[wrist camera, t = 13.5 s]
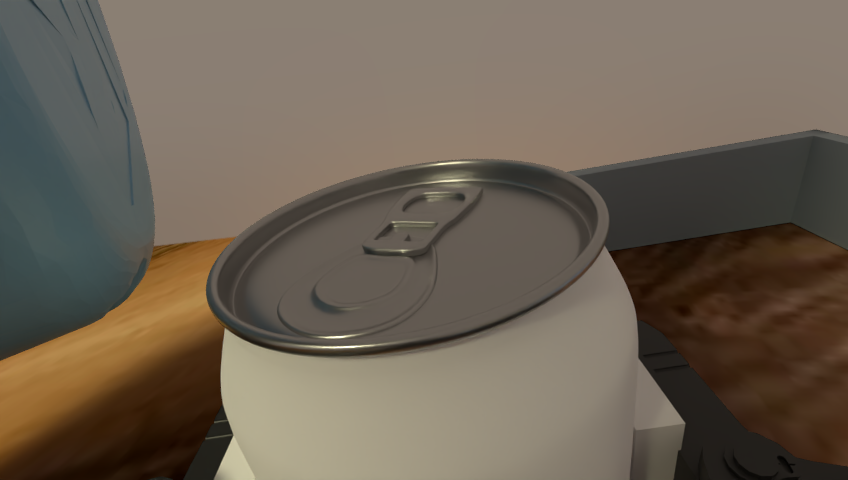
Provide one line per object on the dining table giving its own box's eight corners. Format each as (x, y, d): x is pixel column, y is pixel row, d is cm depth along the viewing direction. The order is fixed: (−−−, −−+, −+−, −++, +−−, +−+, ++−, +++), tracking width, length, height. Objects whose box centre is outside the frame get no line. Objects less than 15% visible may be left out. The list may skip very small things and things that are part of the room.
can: (326, 703, 10) (49, 327, 5) (426, 466, 15) (344, 160, 10) (610, 889, 7) (687, 489, 2) (615, 524, 12) (640, 142, 7)
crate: (1092, 351, 16) (1196, 215, 13) (494, 435, 17) (479, 325, 14) (793, 214, 29) (816, 129, 26) (458, 267, 30) (447, 192, 27)
